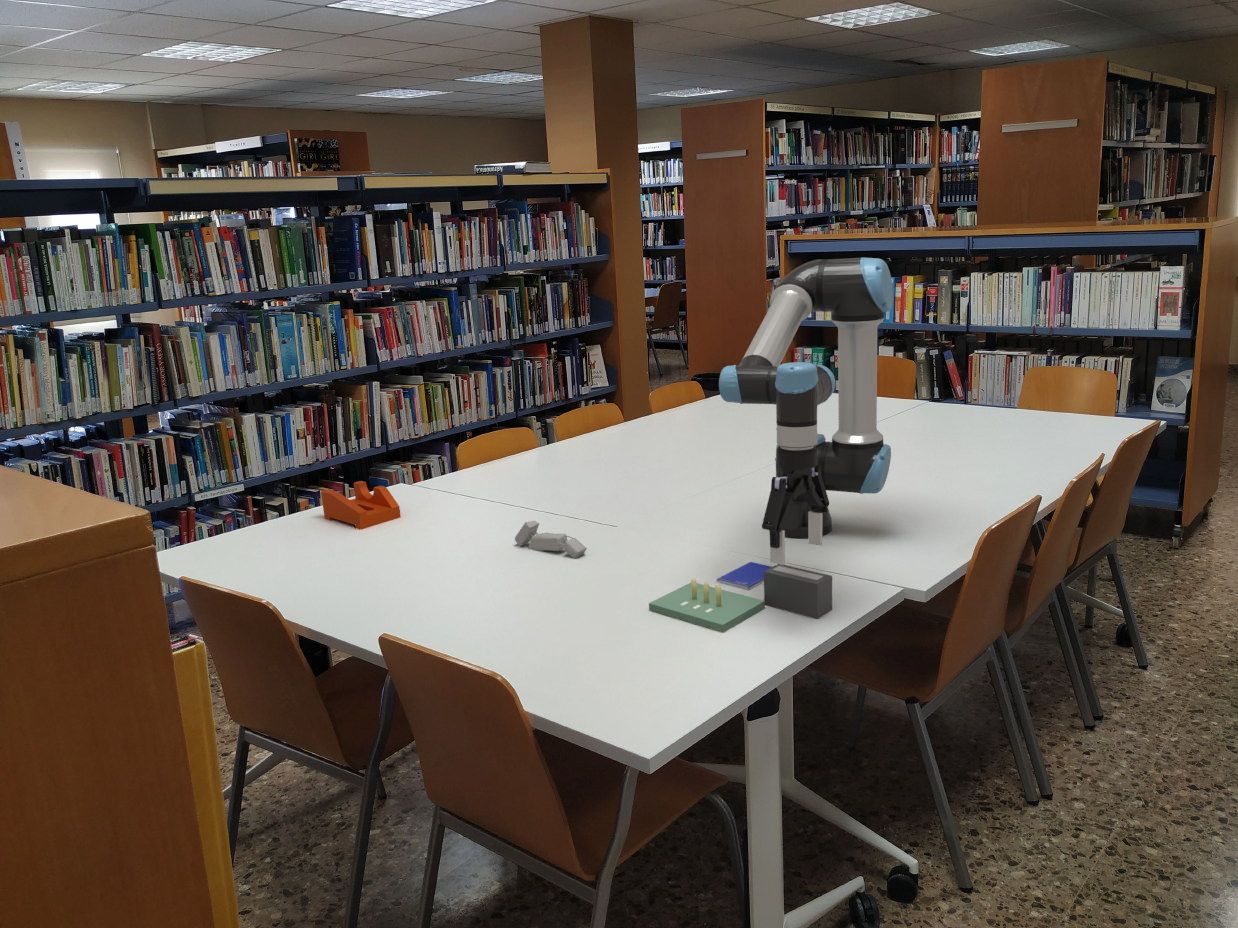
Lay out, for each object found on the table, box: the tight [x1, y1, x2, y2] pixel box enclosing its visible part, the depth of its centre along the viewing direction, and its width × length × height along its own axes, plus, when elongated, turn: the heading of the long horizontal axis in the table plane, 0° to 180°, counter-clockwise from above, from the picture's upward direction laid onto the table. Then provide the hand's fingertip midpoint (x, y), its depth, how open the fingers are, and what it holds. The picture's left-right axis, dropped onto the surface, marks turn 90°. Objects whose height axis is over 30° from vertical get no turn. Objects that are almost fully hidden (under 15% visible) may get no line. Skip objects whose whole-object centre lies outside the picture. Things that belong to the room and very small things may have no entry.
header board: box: [648, 578, 766, 633], centre depth 183 cm, size 14×18×6 cm
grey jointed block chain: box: [514, 520, 588, 559], centre depth 223 cm, size 20×4×7 cm, turn 53°
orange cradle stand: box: [320, 480, 402, 531], centre depth 257 cm, size 18×13×8 cm
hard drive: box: [716, 561, 772, 591], centre depth 199 cm, size 2×8×12 cm
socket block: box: [763, 564, 833, 620], centre depth 182 cm, size 5×12×7 cm, turn 48°
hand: (796, 553), depth 180 cm, fingers open, 13 cm apart
